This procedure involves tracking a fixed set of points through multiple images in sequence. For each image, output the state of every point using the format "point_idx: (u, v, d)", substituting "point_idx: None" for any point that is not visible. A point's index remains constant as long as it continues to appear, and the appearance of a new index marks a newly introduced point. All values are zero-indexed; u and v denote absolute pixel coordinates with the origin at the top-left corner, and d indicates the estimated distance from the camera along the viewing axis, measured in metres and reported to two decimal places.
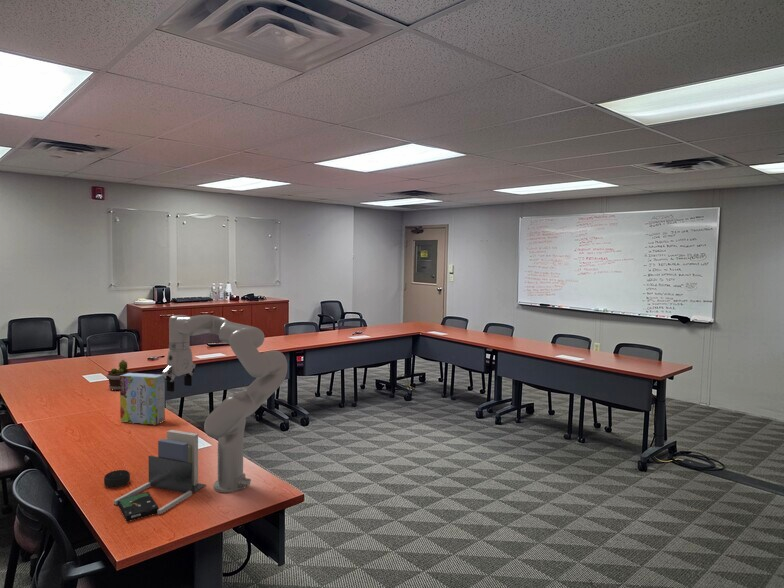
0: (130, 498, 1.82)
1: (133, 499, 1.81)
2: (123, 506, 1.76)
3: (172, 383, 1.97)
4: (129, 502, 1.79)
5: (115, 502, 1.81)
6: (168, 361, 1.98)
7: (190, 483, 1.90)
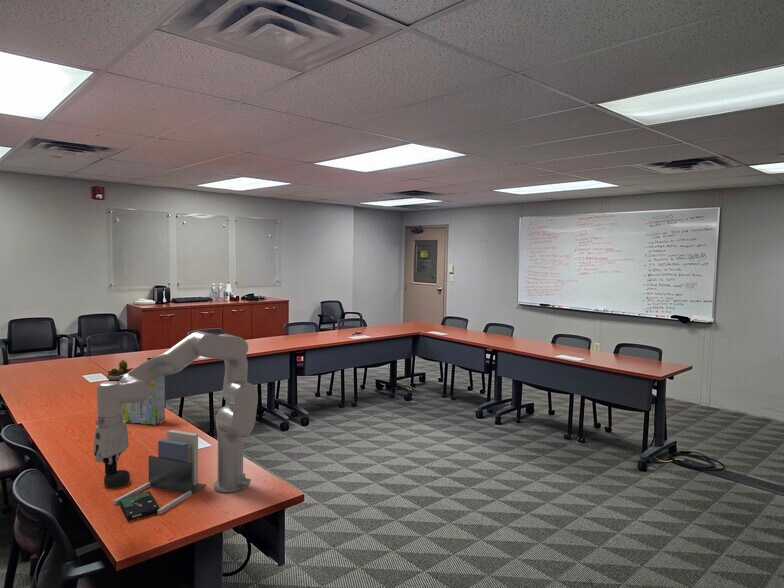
0: (131, 498, 1.82)
1: (134, 499, 1.81)
2: (124, 506, 1.76)
3: (111, 466, 1.66)
4: (130, 502, 1.79)
5: (115, 502, 1.81)
6: (95, 440, 1.62)
7: (190, 483, 1.90)
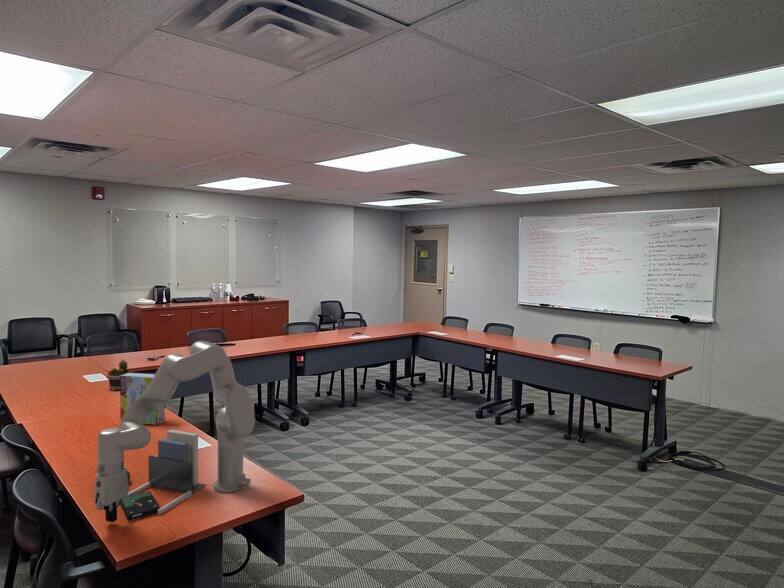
0: (132, 497, 1.82)
1: (135, 498, 1.82)
2: (125, 505, 1.77)
3: (112, 512, 1.67)
4: (130, 502, 1.79)
5: None
6: (96, 488, 1.63)
7: (190, 483, 1.90)
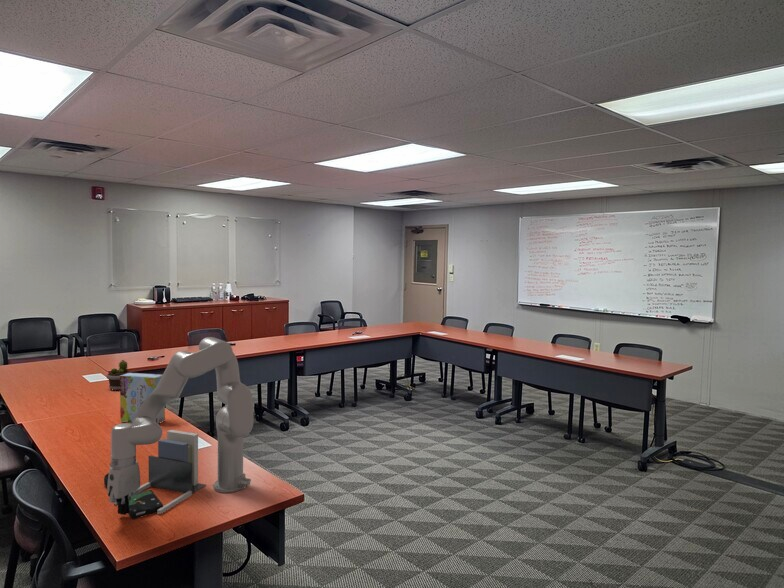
0: (134, 496, 1.83)
1: (137, 497, 1.83)
2: None
3: (124, 505, 1.72)
4: (133, 500, 1.80)
5: (115, 502, 1.81)
6: (109, 481, 1.68)
7: (190, 483, 1.90)
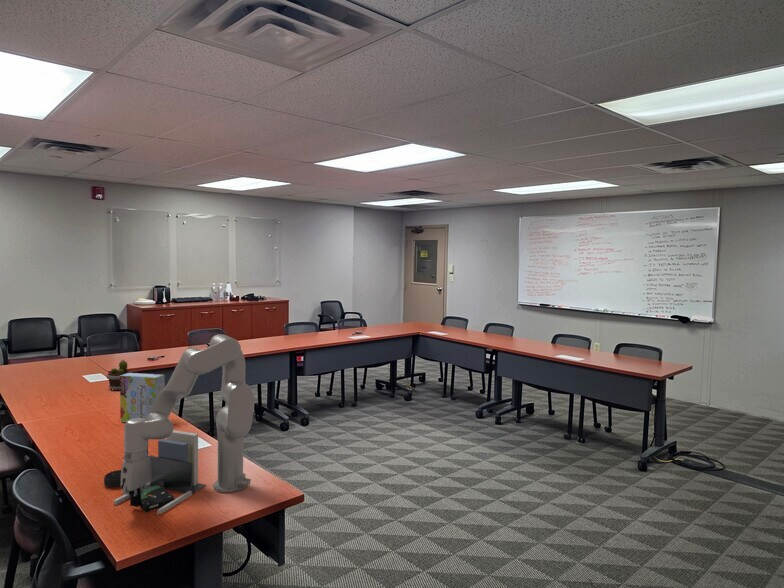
0: (143, 490, 1.88)
1: (147, 491, 1.87)
2: None
3: (136, 497, 1.77)
4: (143, 494, 1.85)
5: (115, 502, 1.81)
6: (122, 474, 1.73)
7: (190, 483, 1.90)
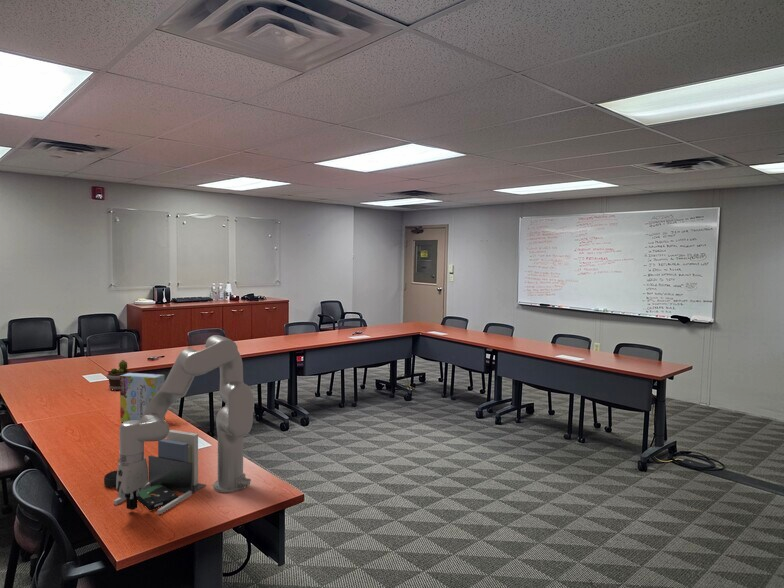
0: (146, 490, 1.89)
1: (149, 490, 1.88)
2: (142, 497, 1.83)
3: (132, 500, 1.75)
4: (146, 493, 1.86)
5: (115, 502, 1.81)
6: (117, 477, 1.71)
7: (190, 483, 1.90)
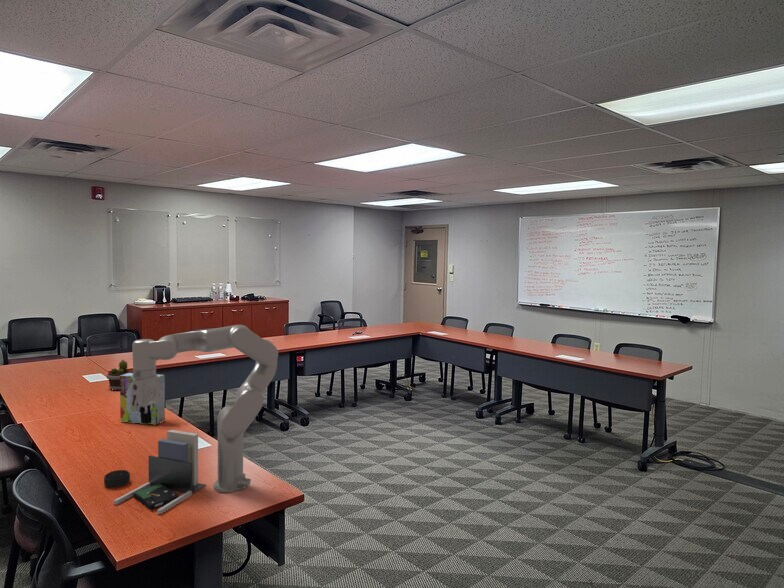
0: (145, 490, 1.89)
1: (149, 490, 1.88)
2: (142, 497, 1.83)
3: (147, 415, 1.84)
4: (146, 493, 1.86)
5: (115, 502, 1.81)
6: (132, 391, 1.80)
7: (190, 483, 1.90)
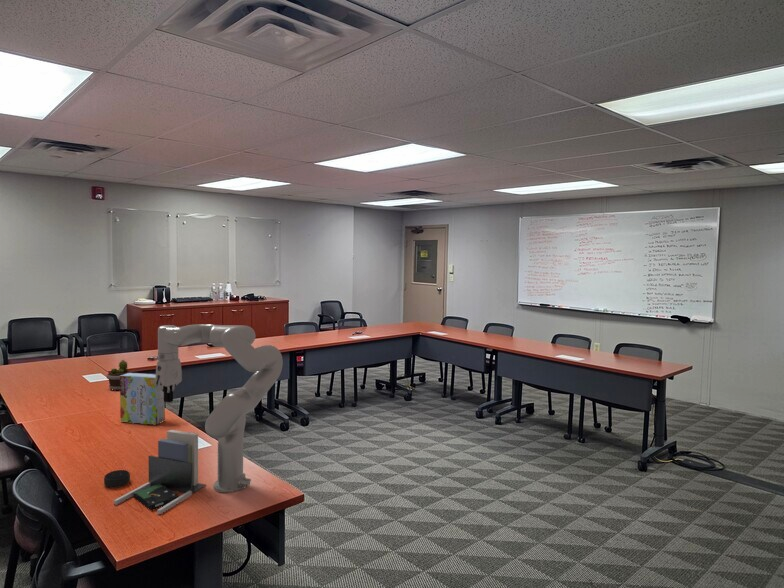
0: (145, 490, 1.89)
1: (149, 490, 1.88)
2: (142, 497, 1.83)
3: (169, 394, 2.02)
4: (146, 493, 1.86)
5: (115, 502, 1.81)
6: (157, 371, 1.98)
7: (190, 483, 1.90)
